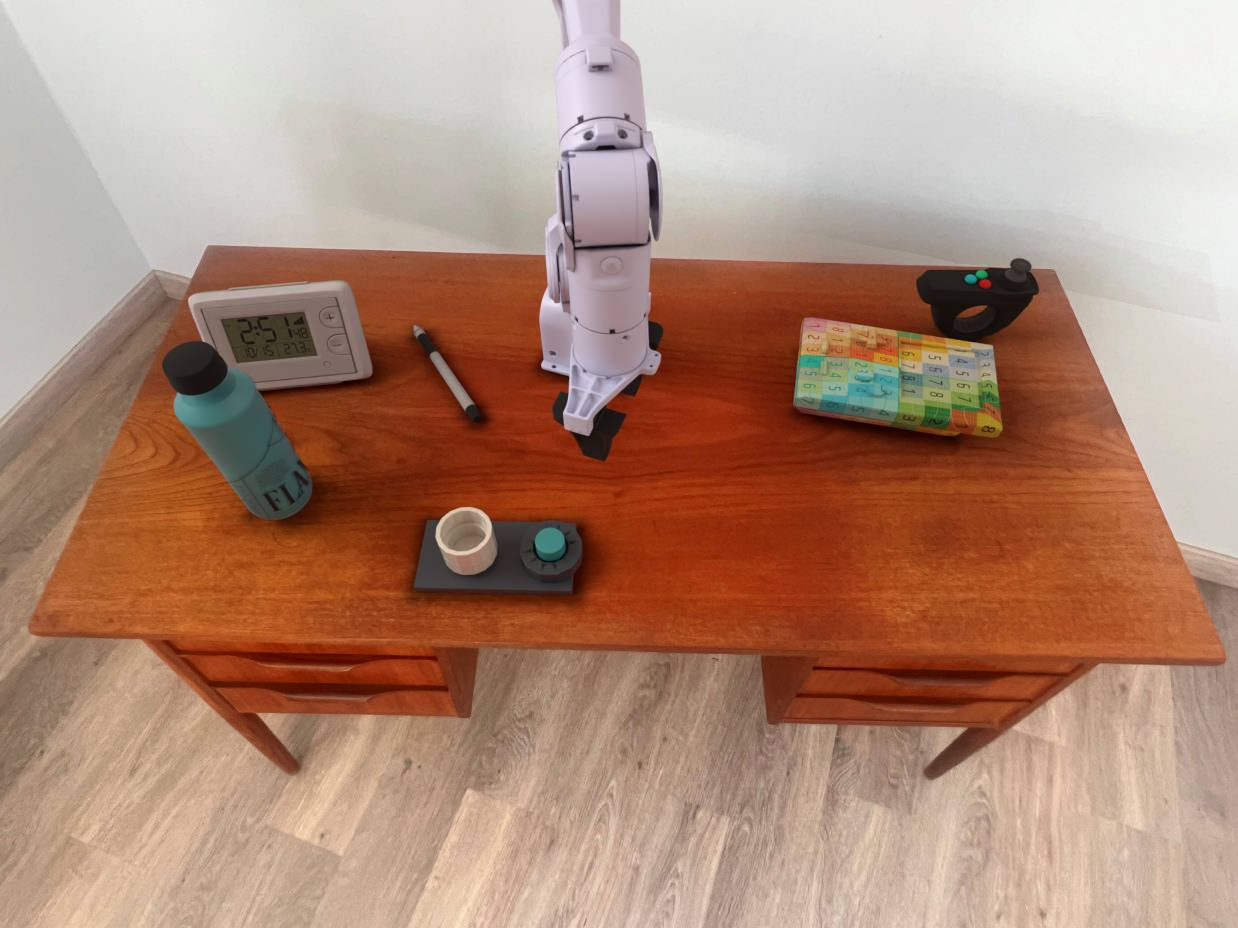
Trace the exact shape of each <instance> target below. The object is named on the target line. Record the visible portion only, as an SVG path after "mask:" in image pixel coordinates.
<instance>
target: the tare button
mask: <svg viewBox="0 0 1238 928" xmlns="http://www.w3.org/2000/svg"><path fill="white" fill-rule="evenodd" d="M535 545H536V551H537V554H538V556H539V557H540V558H541V559H543V560H545V561H556V560H558V559H560V558H561V557H562V556H563V554H564V553H565V549H566V547H565V538H564V535H563V534H562V532H561V531H559V530H558V529H555V528H546V529H543V530H541V531H540V532H539V533H538V534H537V536H536V538H535Z"/></svg>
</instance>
